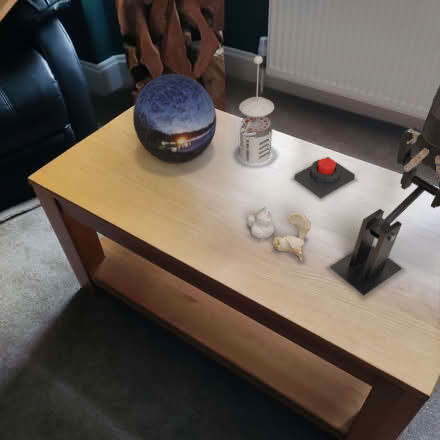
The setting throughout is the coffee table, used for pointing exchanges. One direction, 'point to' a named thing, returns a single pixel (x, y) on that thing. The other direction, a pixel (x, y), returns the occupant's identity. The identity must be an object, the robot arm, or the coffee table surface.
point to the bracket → (369, 257)
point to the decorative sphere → (174, 118)
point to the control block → (323, 179)
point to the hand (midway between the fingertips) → (420, 195)
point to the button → (326, 166)
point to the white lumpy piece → (261, 223)
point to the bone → (292, 242)
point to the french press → (256, 127)
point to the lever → (403, 205)
